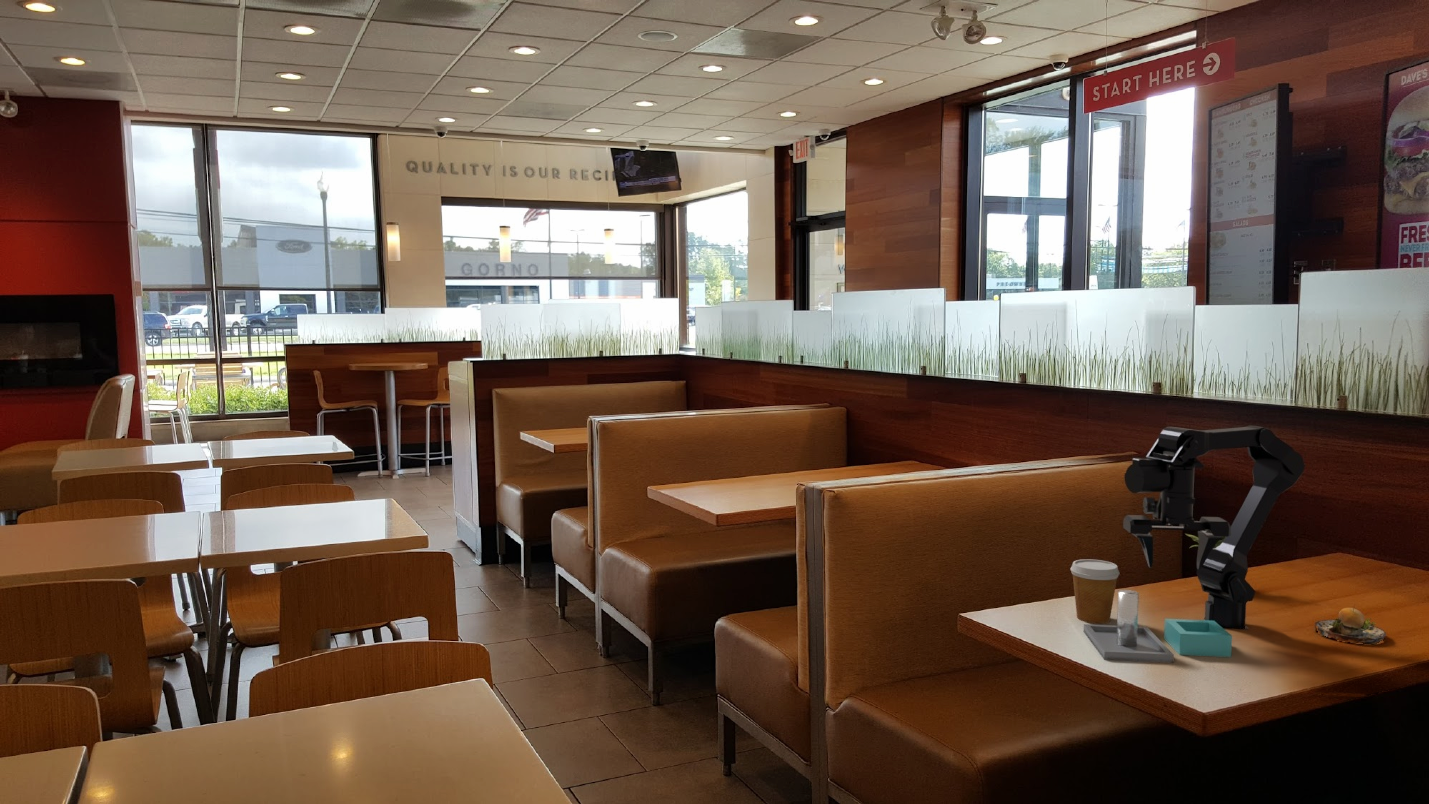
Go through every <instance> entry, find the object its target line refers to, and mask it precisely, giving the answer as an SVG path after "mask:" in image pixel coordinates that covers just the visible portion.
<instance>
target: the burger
mask: <svg viewBox="0 0 1429 804" xmlns="http://www.w3.org/2000/svg"><path fill="white" fill-rule="evenodd" d="M1355 604H1356V603H1355ZM1355 604H1353V606H1355ZM1365 619H1366V620H1365ZM1371 620H1372V618H1365V615H1364V614H1363V613H1362V612H1361V611H1360V610H1358V609H1356V608H1355V607H1344V608H1342V609H1341V610H1340V611H1339V612H1338V618H1335V619H1323V620H1317V621H1315V622H1314V630H1315V631H1318V632H1317V633H1318V635H1319V634H1320V635H1322V636H1321V637H1323V636H1326V637H1325V638H1329V639H1331V638H1332V639H1335V641H1336V640H1339V641H1346V643H1350V644H1351V643H1355V644H1354V645H1356V643H1363V644H1377V643H1379V642H1380V641H1382V640H1383V639H1384V638H1385V637H1386V636H1387V632H1386V631H1385V630H1383V629H1382V628H1381V627H1380V628H1379V627H1377V626H1376V625H1377V622H1373V621H1371ZM1315 631H1314V632H1315ZM1320 635H1319V636H1320Z"/></svg>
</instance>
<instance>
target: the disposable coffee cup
mask: <svg viewBox="0 0 1429 804" xmlns="http://www.w3.org/2000/svg"><path fill="white" fill-rule="evenodd" d="M1070 571H1071V574H1072V579H1073V582H1072V583H1073V589H1074V591H1073V592H1074V600H1075V601H1074V602H1075V611H1076V618H1077V619H1078V620H1079V621H1081V622H1084V623H1088V624H1095V625H1103V624H1107V623H1109V622H1110V621H1111V617H1112V616H1111V614H1112V609H1113V602H1114V597H1115V591H1116V588H1117V587H1116V586H1117V582H1118V581H1117V580H1118V578H1119V575H1120V571H1119V568H1118V565H1117V564H1116V563H1113V562H1111V561H1107V560H1101V559H1087V558H1086V559H1077V560H1074V561H1073V562H1072V564H1071V567H1070Z"/></svg>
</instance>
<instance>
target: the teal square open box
mask: <svg viewBox="0 0 1429 804" xmlns="http://www.w3.org/2000/svg"><path fill="white" fill-rule="evenodd" d="M1163 632H1164V635H1163V639H1164V641H1166V643H1167V644H1168V645H1170V647H1171V648H1172V649H1173V650H1174V652H1176V653H1177V654H1178V655H1179V656H1194V657H1195V656H1198V657H1220V658H1222V657H1223V658H1232V643H1233V635H1232V634H1231V633H1230V632H1228V631H1227V629H1223V628H1222V627H1221V626H1220V625H1219V624H1217V623H1216V622H1215V621H1211V620H1205V619H1184V618H1183V619H1181V618H1180V619H1179V618H1177V619H1176V618H1164V631H1163Z"/></svg>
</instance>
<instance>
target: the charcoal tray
mask: <svg viewBox="0 0 1429 804" xmlns="http://www.w3.org/2000/svg"><path fill="white" fill-rule="evenodd" d="M1083 633H1084V635H1085V636H1086V637H1087V639H1088V640H1089V641H1090V643H1091V644H1092V646H1093V647H1094V648H1095V649H1096V650H1097V652H1098V653H1099V655H1100V656H1101V657H1102V659H1103V660H1104V661H1121V662H1123V661H1124V662H1126V661H1127V662H1146V663H1147V662H1148V663H1149V662H1150V663H1166V664H1167V663H1170V664H1171V663H1174V660H1175V659H1174V655H1175V654H1174V653H1173V652H1172V651H1171V650H1170V649H1169V648H1168V647H1167V646H1166V645H1165V644H1164V643H1163V642H1162V641H1161V640H1160V638H1159V637H1158V636H1156V634H1155V633H1154V632H1152V630H1151V629H1150V628H1148V626H1138V631H1137V646H1135V647H1124V646H1120V645H1118V644H1117V643H1116V642H1117V625H1113V624H1112V625H1109V624H1108V625H1107V624H1090V623H1088V624H1086V623H1085V624H1084V623H1083Z"/></svg>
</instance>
